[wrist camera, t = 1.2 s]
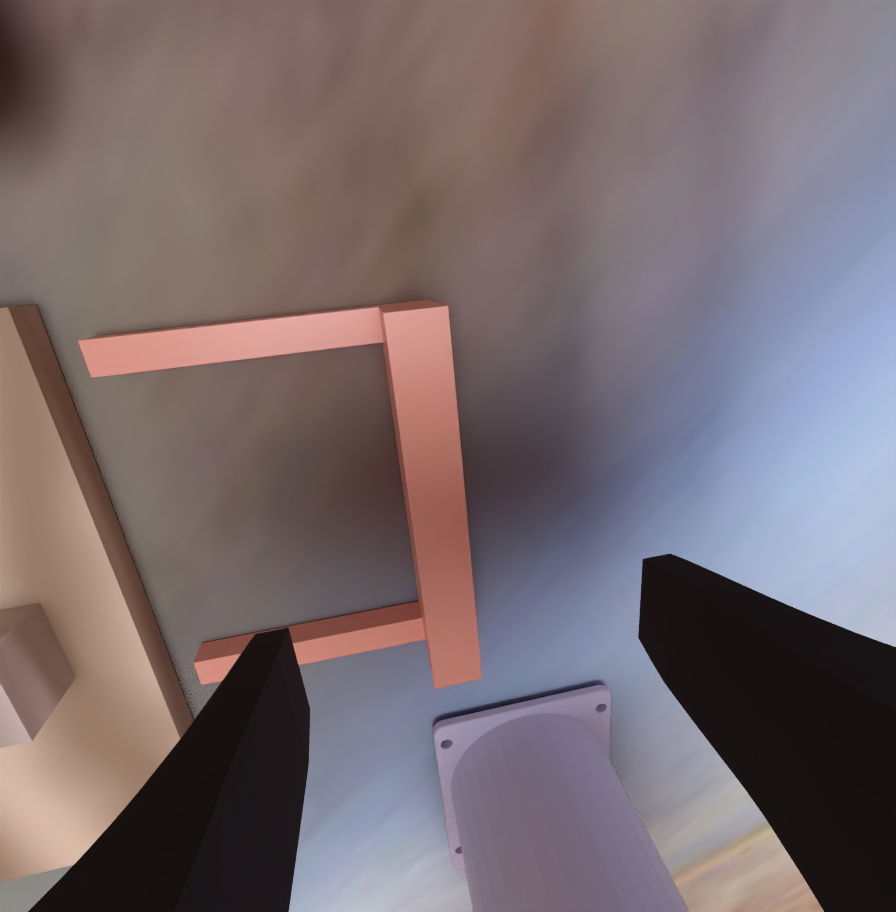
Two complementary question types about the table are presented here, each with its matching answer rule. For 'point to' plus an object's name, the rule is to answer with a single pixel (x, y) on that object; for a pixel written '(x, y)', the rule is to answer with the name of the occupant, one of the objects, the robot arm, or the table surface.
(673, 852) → the table surface
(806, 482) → the table surface
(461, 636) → the u-shaped bracket
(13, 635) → the architectural building model
